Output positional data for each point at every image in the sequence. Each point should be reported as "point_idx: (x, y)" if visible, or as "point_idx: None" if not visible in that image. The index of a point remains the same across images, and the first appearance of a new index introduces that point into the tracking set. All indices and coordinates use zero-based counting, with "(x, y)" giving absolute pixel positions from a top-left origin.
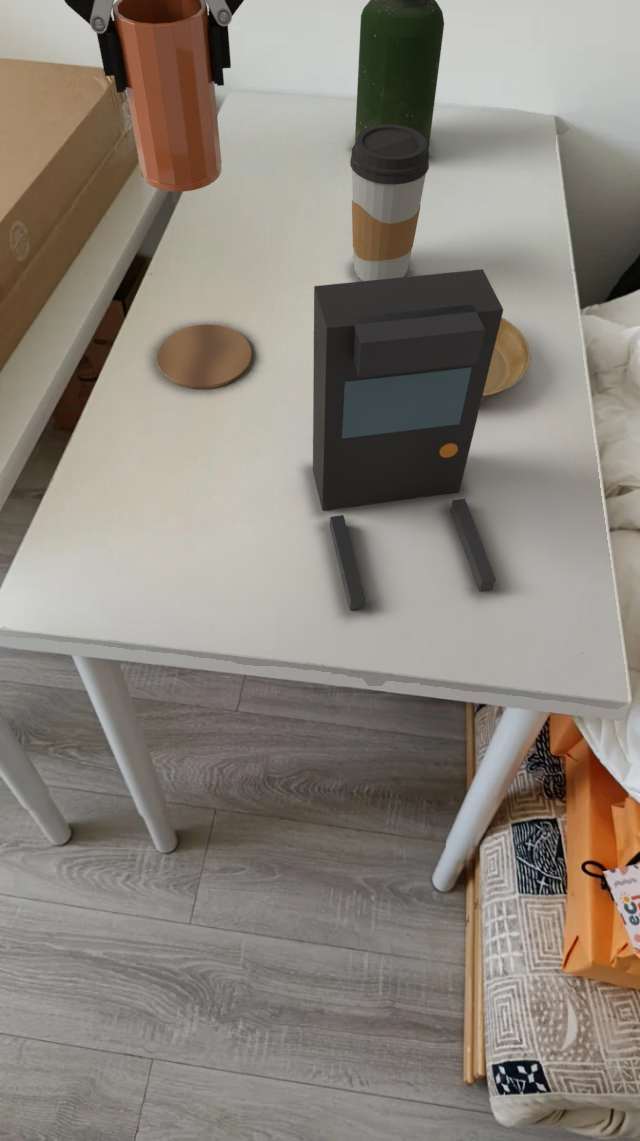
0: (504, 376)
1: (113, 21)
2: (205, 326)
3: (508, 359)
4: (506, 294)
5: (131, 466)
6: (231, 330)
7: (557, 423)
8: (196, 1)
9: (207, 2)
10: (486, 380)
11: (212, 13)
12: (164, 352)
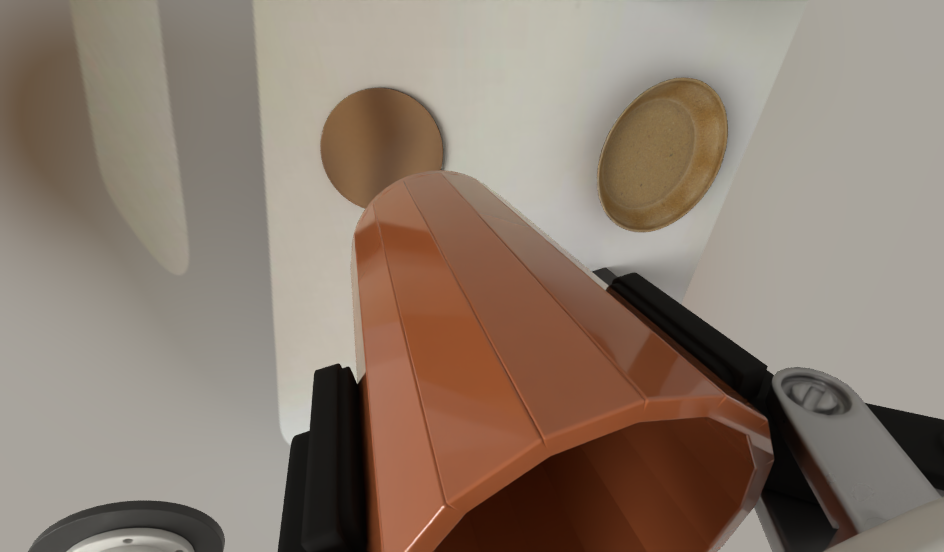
0: (683, 173)
1: (351, 539)
2: (375, 93)
3: (697, 150)
4: (744, 11)
5: (340, 318)
6: (413, 102)
7: (697, 224)
8: (738, 438)
9: (776, 549)
10: (667, 179)
11: (755, 506)
12: (330, 153)
